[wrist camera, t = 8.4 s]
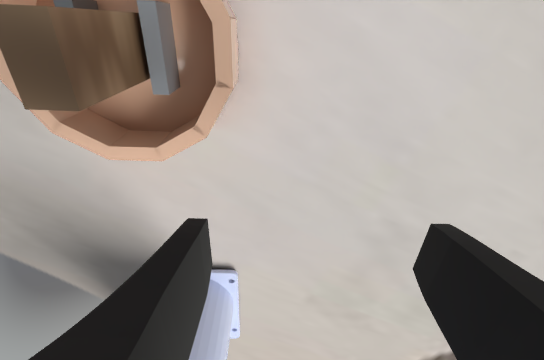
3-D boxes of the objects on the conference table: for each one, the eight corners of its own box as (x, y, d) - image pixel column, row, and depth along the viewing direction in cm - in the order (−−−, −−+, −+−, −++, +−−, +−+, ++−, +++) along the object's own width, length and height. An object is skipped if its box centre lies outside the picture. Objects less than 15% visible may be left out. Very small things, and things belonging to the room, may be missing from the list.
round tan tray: (240, 142, 18) (235, 163, 15) (69, 137, 18) (34, 157, 15) (235, -85, 12) (226, -114, 10) (-14, -97, 12) (-91, -130, 10)
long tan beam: (155, 76, 15) (79, 111, 9) (122, 74, 15) (25, 109, 9) (145, 13, 14) (46, 6, 8) (109, 11, 14) (-19, 3, 8)
